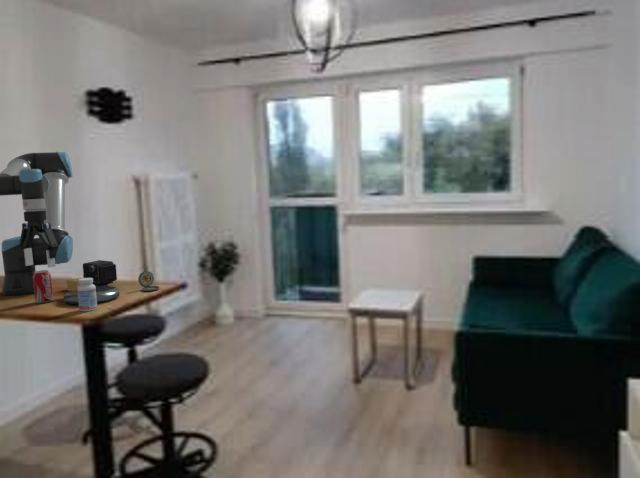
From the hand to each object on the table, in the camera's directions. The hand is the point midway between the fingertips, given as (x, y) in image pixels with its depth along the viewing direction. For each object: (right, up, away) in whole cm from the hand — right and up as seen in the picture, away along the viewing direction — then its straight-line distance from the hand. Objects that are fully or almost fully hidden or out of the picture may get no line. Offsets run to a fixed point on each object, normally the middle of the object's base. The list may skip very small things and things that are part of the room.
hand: (40, 266), depth 213 cm
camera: (+12, -10, +27) cm, 32 cm away
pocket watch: (+37, -11, +17) cm, 42 cm away
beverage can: (0, -14, +2) cm, 14 cm away
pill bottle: (+24, -15, -13) cm, 31 cm away
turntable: (+17, -12, +4) cm, 21 cm away
